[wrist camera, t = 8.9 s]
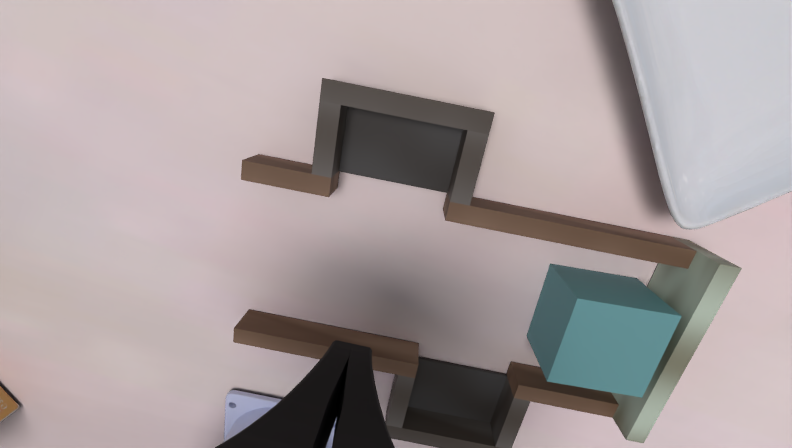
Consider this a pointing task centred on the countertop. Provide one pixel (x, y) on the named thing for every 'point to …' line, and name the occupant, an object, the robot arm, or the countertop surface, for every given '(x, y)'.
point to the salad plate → (714, 100)
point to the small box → (6, 405)
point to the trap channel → (456, 175)
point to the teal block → (600, 330)
